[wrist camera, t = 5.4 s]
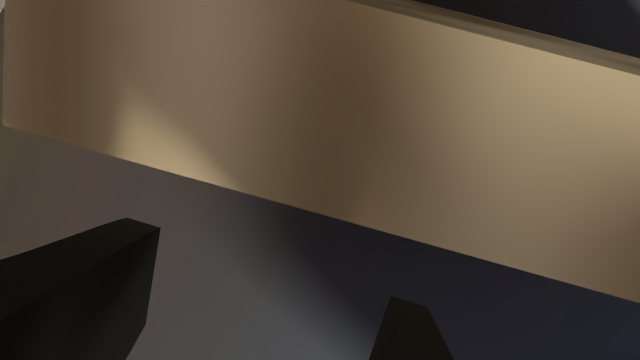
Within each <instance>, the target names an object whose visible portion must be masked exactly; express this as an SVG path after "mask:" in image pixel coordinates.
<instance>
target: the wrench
mask: <svg viewBox="0 0 640 360" xmlns="http://www.w3.org/2000/svg"><path fill="white" fill-rule="evenodd" d="M4 6H5V0H0V12H1V11H2V9H3V8H4Z"/></svg>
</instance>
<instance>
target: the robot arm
mask: <svg viewBox="0 0 640 360" xmlns="http://www.w3.org/2000/svg"><path fill="white" fill-rule="evenodd" d="M159 234H160V227H156V226H153V225H150V224H146V223H143V222H139V221H136V220H133V219H129V218H124V219H120V220H117V221H113V222H110V223H107V224H104V225H101V226H98V227H95V228H93V229H90V230H87V231H84V232H81V233H79V234H76V235H73V236H70V237H67V238H64V239H62V240H59V241H56V242H53V243H50V244H47V245H44V246H41V247H38V248H36V249H33V250H30V251H27V252H24V253H21V254H18V255H15V256H12V257H8V258H5V259H2V260H0V360H126V358H127V356H128V355H129V353H130V351H131V349H132V348H133V346H134V344H135V342H136V340H137V339H138V337H139V335H140V333H141V332H142V330H143V328H144V326H145V324H146V317H147V311H148V305H149V298H150V292H151V285H152V279H153V273H154V266H155V260H156V253H157V247H158V240H159ZM369 360H454V359H453V357H452V355H451V353H450V351H449V349H448V347H447V345H446V343H445V341H444V339H443V337H442V335H441V333H440V331H439V329H438V328H437V326H436V324H435V322H434V320H433V318H432V316H431V314H430V312H429V310H428V308H427V307H426V306H423V305H419V304H416V303H412V302H409V301H406V300H402V299H399V298H396V297H392V296H391V298H390V301H389V304H388V306H387V309H386V312H385V315H384V318H383V321H382V324H381V326H380V329H379V332H378V335H377V338H376V341H375V344H374V347H373V349H372V352H371V355H370V358H369Z"/></svg>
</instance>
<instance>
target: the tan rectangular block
mask: <svg viewBox="0 0 640 360" xmlns="http://www.w3.org/2000/svg"><path fill="white" fill-rule="evenodd" d="M2 125H3V126H6V127H10V128H14V129H17V130H21V131H24V132H28V133H32V134H35V135H39V136H42V137H46V138H50V139H53V140H57V141H60V142H64V143H67V144H71V145H75V146H78V147H82V148H85V149H89V150H93V151H96V152H100V153H103V154H107V155H110V156H114V157H118V158H121V159H125V160H128V161H132V162H136V163H139V164H143V165H146V166H150V167H154V168H157V169H161V170H164V171H168V172H171V173H175V174H179V175H182V176H186V177H189V178H193V179H197V180H200V181H204V182H207V183H211V184H214V185H218V186H222V187H225V188H229V189H232V190H236V191H240V192H243V193H247V194H250V195H254V196H257V197H261V198H265V199H268V200H272V201H275V202H279V203H283V204H286V205H290V206H293V207H297V208H301V209H304V210H308V211H311V212H315V213H318V214H322V215H326V216H329V217H333V218H336V219H340V220H344V221H347V222H351V223H354V224H358V225H361V226H365V227H369V228H372V229H376V230H379V231H383V232H387V233H390V234H394V235H397V236H401V237H405V238H408V239H412V240H415V241H419V242H422V243H426V244H430V245H433V246H437V247H440V248H444V249H448V250H451V251H455V252H458V253H462V254H465V255H469V256H473V257H476V258H480V259H483V260H487V261H491V262H494V263H498V264H501V265H505V266H508V267H512V268H516V269H519V270H523V271H526V272H530V273H534V274H537V275H541V276H544V277H548V278H552V279H555V280H559V281H562V282H566V283H569V284H573V285H577V286H580V287H584V288H587V289H591V290H595V291H598V292H602V293H605V294H609V295H612V296H616V297H620V298H623V299H627V300H630V301H634V302H638V303H640V58H637V57H633V56H629V55H625V54H621V53H617V52H613V51H609V50H605V49H601V48H598V47H594V46H590V45H586V44H582V43H578V42H574V41H570V40H566V39H562V38H558V37H555V36H551V35H547V34H543V33H539V32H535V31H531V30H527V29H523V28H519V27H515V26H512V25H508V24H504V23H500V22H496V21H492V20H488V19H484V18H480V17H476V16H472V15H469V14H465V13H461V12H457V11H453V10H449V9H445V8H441V7H437V6H433V5H429V4H425V3H422V2H418V1H414V0H5V20H4V65H3V111H2Z"/></svg>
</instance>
